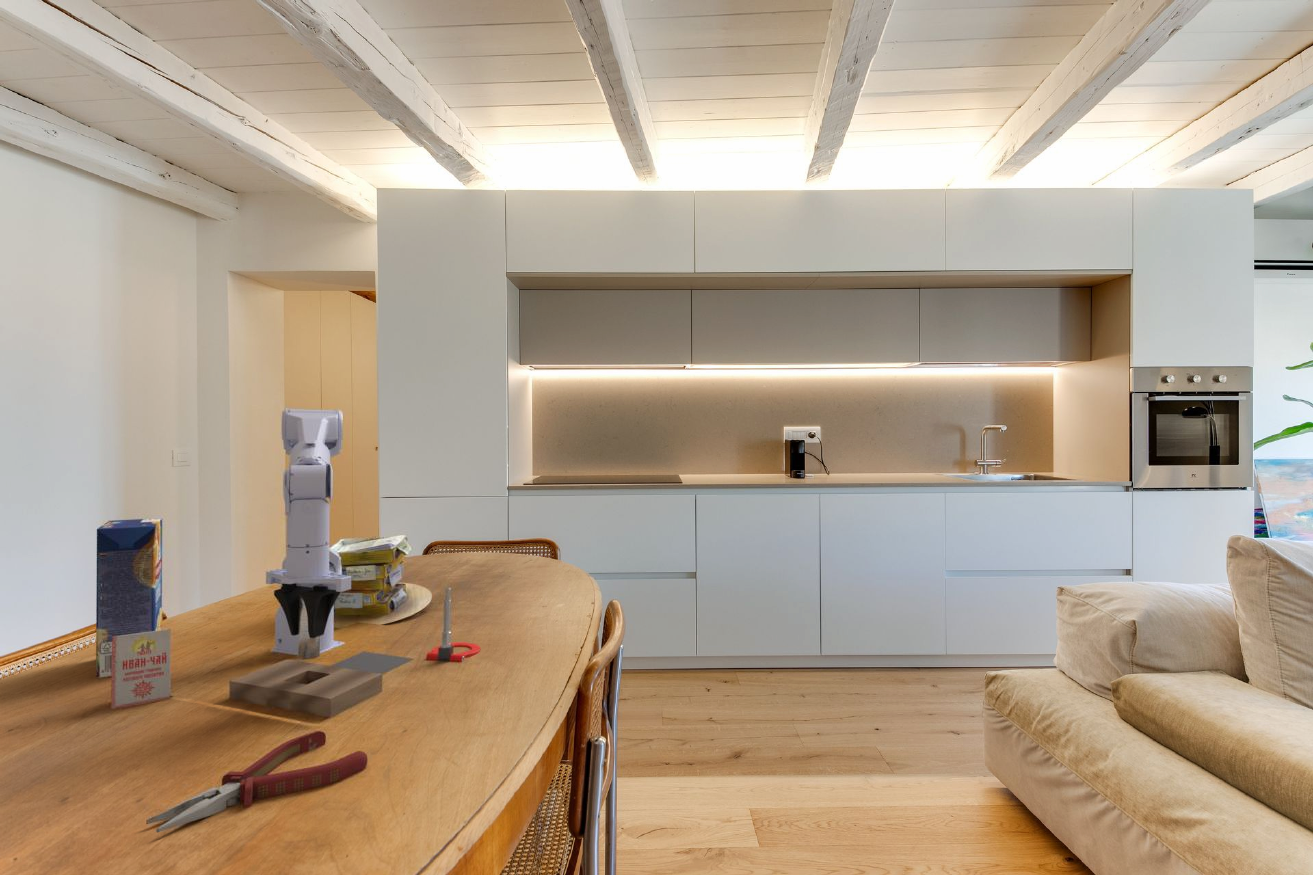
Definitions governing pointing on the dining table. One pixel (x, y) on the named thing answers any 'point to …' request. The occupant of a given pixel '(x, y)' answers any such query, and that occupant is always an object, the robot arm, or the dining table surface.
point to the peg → (306, 636)
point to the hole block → (306, 687)
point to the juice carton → (127, 583)
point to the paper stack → (376, 582)
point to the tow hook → (446, 649)
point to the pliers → (264, 781)
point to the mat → (372, 662)
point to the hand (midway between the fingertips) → (307, 634)
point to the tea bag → (140, 668)
